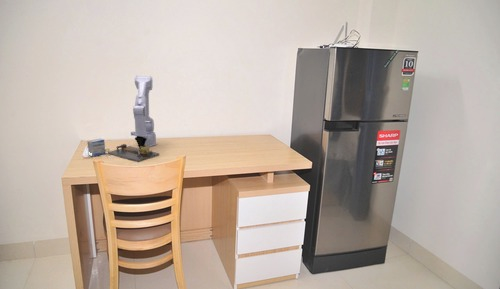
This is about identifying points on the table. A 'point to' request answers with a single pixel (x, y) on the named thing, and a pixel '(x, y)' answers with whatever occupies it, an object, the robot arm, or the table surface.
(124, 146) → the beam
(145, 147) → the sliding head
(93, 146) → the medicine box
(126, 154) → the dark grey flat plate
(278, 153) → the table surface
